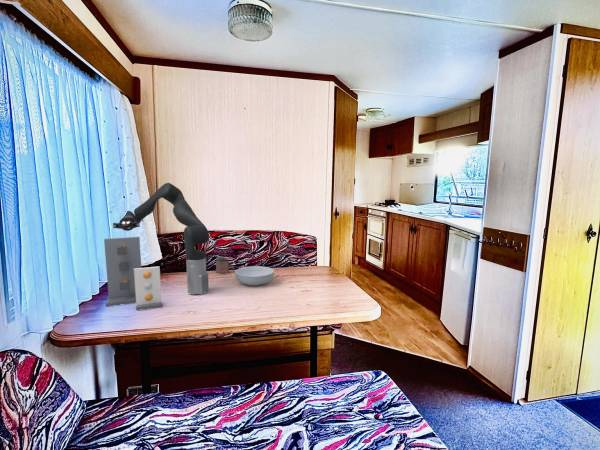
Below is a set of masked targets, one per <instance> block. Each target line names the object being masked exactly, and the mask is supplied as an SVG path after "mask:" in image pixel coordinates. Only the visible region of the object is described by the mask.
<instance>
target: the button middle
mask: <svg viewBox="0 0 600 450" xmlns="http://www.w3.org/2000/svg"><path fill="white" fill-rule="evenodd" d="M119 270H120V271H127V270H128V262H127V263H119Z"/></svg>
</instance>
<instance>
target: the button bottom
mask: <svg viewBox="0 0 600 450" xmlns="http://www.w3.org/2000/svg"><path fill="white" fill-rule="evenodd" d="M128 289H129V280H122V282H120V290H128Z"/></svg>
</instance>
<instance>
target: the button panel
mask: <svg viewBox="0 0 600 450" xmlns="http://www.w3.org/2000/svg"><path fill="white" fill-rule="evenodd" d="M140 240H141V239H140V236H129V237H127V236H125V237H109V238H104V239H103V241H104V254H105V255H104V256H105V267H106V278H107V291H108V293H107V294H108V297H107V300H106V302H105V307H114V305H116V306H121V305H120V304H124V305H127V304H126V303H131V304H134V303H133V302H136V292H135V278H134V269H137V268H142V257H141V256H142V255H141V241H140ZM119 246H126V250H127V251H126V253H127V255H117V247H119ZM127 262H128V270H127V271H120V270H119V263H127ZM122 280H129V289H128V290H120V282H122Z"/></svg>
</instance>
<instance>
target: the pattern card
mask: <svg viewBox="0 0 600 450" xmlns="http://www.w3.org/2000/svg"><path fill="white" fill-rule="evenodd" d="M160 270H161V269H160V266H150V267H149V266H148V267H141V268H137V269H134V278H135V292H136V303H135V304H136V305H135V306H136V307H135V311H136V310H138V311H141V310H140V309H145V310H148V309H147V308H153V309H155V308H154V307H160V308H162V304H163V301H162V288H161V285H162V284H161V271H160Z"/></svg>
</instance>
